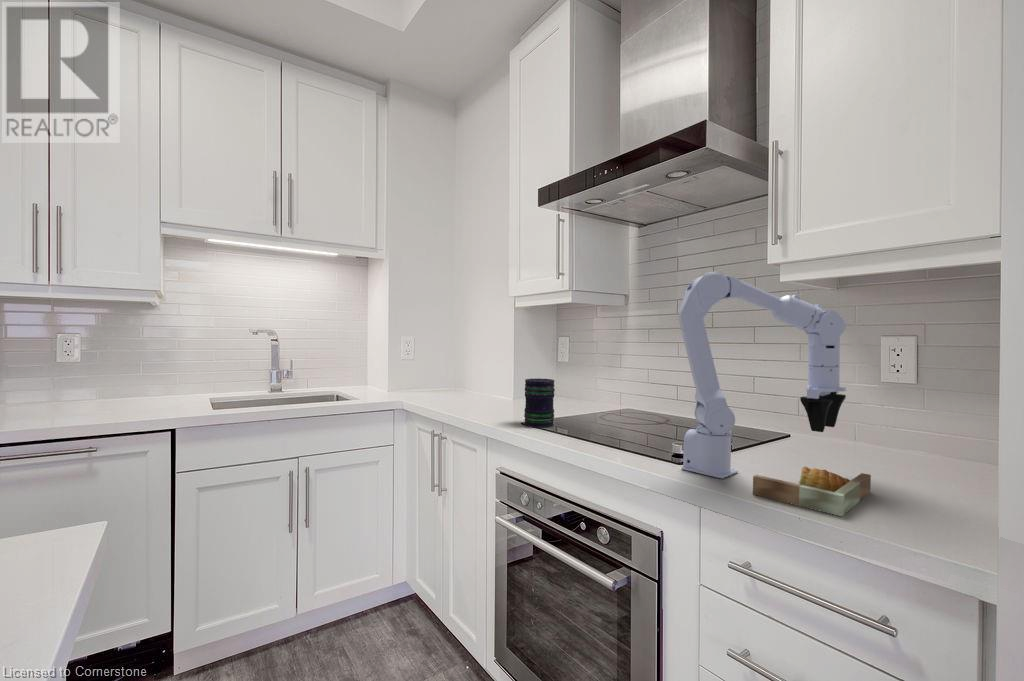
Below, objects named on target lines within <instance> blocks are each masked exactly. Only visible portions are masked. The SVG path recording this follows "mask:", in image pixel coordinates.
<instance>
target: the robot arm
mask: <svg viewBox="0 0 1024 681" xmlns="http://www.w3.org/2000/svg"><path fill="white" fill-rule="evenodd" d="M684 292H685V293H684V297H683V299H682V302H681V304H680V307H679V310H678V313H677V317H678V322H679V326H680V330H681V334H682V338H683V342H684V347H685V351H686V355H687V360H688V364H689V366H690V371H691V375H692V380H693V384H694V389H695V395H694V399H695V408H694V417H695V419H696V421H697V422H698V425H697V426H696V428H689V429H688V430H687V431H686V432H685V435H684V438H683V456H682V458H683V459H682V460H683V461H682V462H683V464H682V466H681V469H682V470H684V471H688V472H693V473H698V474H701V475H705V476H709V477H714V478H717V479H725V478H727V477H729V476H732V475H734V474H737V473H738V472H739V470H738V469H735V468H732V464H731V459H732V429H733V428H734V427H735V423H736V417H735V416H736V415H735V414H734V412H733V410H732V409H731V408H730V407H729V405H728V403H727V399H726V396H725V395H724V393H723V391H722V390H721V387H720V382H719V379H718V375H717V371H716V370H717V369H716V366H715V362H714V359H713V355H712V350H711V346H710V342H709V338H708V333H707V330H706V326H705V322H704V319H705V317H706V316H707V314H708V313H709V312H710V311H711V309H712V308H713V306H714V305H716V304H717V303H719V302H720V301H722V300H731V299H737V300H741V301H743V302H746V303H749V304H750V305H754V306H757V307H760V308H762V309H764V310H768V311H771V313H772V316H773V318H774V319H775V320H778V321H779V322H782V323H785V324H787V325H789V326H792V327H794V328H796V329H799V330H801V331H803V332H804V333H805V334H806V335H807V336H808V337H807V338H808V340H807V341H808V344H807V346H808V347H807V349H808V350H807V385H806V396H805V395H804V396H800V398H799V399H800V402H801V404H802V406H803V408H804V410H805V412H806V414H807V415H806V416H807V419H808V422H809V427H810V430H811V432H818V433H823V432H824V431H825V428H826V427H828V428H835V427H836V425H837V424H836V423H837V420H838V415H839V411H840V409H841V407H842V404H843V402H844V401H845V400H846V397H847V395H846V394H842V393H841V394H840V393H839V392H846V391H847V387H845V386H843V387H842V386H840V372H841V371H840V368H841V366H840V361H841V359H840V356H841V355H840V352H841V351H840V347H841V346H840V345H841V344H840V343H841V336H842V334H843V333H844V332H845V330H846V328H847V322H845V320H844V318H843V316H841V314H840V313H839V312H837V311H836V310H832V309H831V310H823V306H822V305H820V304H818V303H817V304H811V303H809V302H807V301H804V300H802V299H801V296H799V295H797V294H792V295H790V294H787V295H784V296H782V297H779V296H777V295H774V294H773V293H770V292H768V291H765V290H764V289H761V288H759V287H757V286H754V285H753V284H750V283H748V282H745V281H743V280H741V279H739V278H737V277H735V276H732V275H729V274H728V275H727V274H726V275H725V274H724V273H721V271H720V272H719V271H709V272H706V273H705V274H704V275H702V276H698V277H696V278H694V279H693V280H692V281H691V283H690V284H689V285H688V286H687V287H686V289H685V291H684Z"/></svg>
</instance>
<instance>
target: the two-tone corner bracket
mask: <svg viewBox="0 0 1024 681" xmlns="http://www.w3.org/2000/svg"><path fill="white" fill-rule="evenodd" d="M871 477H872V475H871V474H868V473H863V472H862V473H860V474H858V475H857V476H855V477H853V478H852V479H850V482H848V483H847V484H845V485H844V486H842V487H841V488H840V489H838V490H837V491H835V492H831V491H827V490H822V489H818V488H813V487H809V486H804V485H800V484H799V483H795V482H790V481H786V480H781V479H777V478H772V477H768V476H763V475H759V474H755V475H753V477H752V495H754V496H757V495H758V496H759V497H761V496H762V498H765V497H766V498H765V499H769V500H773V499H774V500H773V501H777V500H778V502H781V501H783V502H782V503H785V502H787V503H786V504H789V503H792V504H791V505H793V504H796V505H795V506H797V505H799V506H798V507H801V506H804V507H803V508H805V507H808V508H807V509H809V508H812V509H811V510H813V509H816V510H815V511H817V510H820V511H819V512H821V511H823V512H822V513H825V512H827V513H826V514H828V513H831V514H830V515H832V514H834V516H836V515H838V516H837V517H840V516H842V517H843V516H845V514H847V513H846V512H849V511H850V510H852V508H854V507H856V505H857V504H858V503H860V502H861V501H862V500H863V499H865V498H866V497H867V496H868V495H869V494H870V493H871V484H872V483H871V482H872V479H871Z"/></svg>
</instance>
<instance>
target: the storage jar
mask: <svg viewBox="0 0 1024 681" xmlns="http://www.w3.org/2000/svg"><path fill="white" fill-rule="evenodd" d="M524 382H525V384H524V397H525V408H524V414H523V417H524V426H525V427H528V428H531V429H548V428H552V427H554V426H555V425H554V421H555V420H554V419H555V408H554V398H555V390H556V389H555V380H554V379H551V378H526V379H525V380H524Z"/></svg>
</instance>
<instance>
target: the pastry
mask: <svg viewBox="0 0 1024 681" xmlns="http://www.w3.org/2000/svg"><path fill="white" fill-rule="evenodd" d="M850 481H851V479H848V478H847V477H843V476H841V475H839V474H836V473H833V472H830V471H828V470H826V469H819V468H815V467H814V468H809V467H808V466H803V467H802V468H801V474H800V477H799V481H798V484H800V485H804V486H809V487H813V488H818V489H822V490H827V491H831V492H835V491H837V490H838V489H840V488H841V487H842V486H844V485H845V484H847V483H848V482H850Z"/></svg>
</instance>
